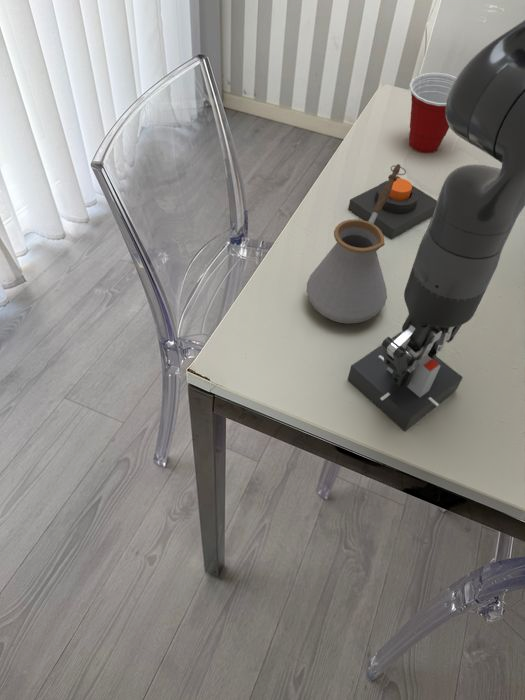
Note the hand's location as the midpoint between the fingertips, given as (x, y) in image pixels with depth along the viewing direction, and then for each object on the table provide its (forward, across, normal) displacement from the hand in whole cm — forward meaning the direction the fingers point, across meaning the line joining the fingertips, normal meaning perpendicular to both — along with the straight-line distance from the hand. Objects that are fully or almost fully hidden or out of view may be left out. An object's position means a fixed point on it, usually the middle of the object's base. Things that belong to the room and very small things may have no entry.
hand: (409, 374), depth 70 cm
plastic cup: (+4, +49, +38) cm, 62 cm away
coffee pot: (+4, +10, +18) cm, 21 cm away
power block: (+4, +28, +27) cm, 39 cm away
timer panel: (+4, +1, +1) cm, 4 cm away
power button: (0, +28, +27) cm, 39 cm away
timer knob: (+1, 0, 0) cm, 1 cm away
